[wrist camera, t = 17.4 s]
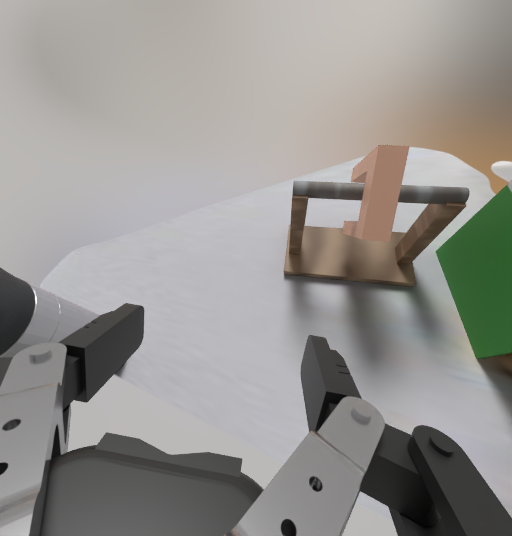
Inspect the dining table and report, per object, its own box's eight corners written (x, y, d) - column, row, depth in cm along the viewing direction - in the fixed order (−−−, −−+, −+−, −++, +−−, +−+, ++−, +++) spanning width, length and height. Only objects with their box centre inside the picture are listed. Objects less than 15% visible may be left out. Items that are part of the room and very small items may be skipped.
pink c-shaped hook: (342, 233, 39) (361, 239, 27) (353, 168, 37) (378, 144, 25) (361, 235, 39) (389, 242, 27) (373, 169, 36) (409, 146, 25)
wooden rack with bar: (283, 274, 42) (285, 213, 28) (289, 228, 47) (292, 156, 33) (412, 286, 39) (486, 224, 25) (404, 236, 44) (463, 161, 30)
